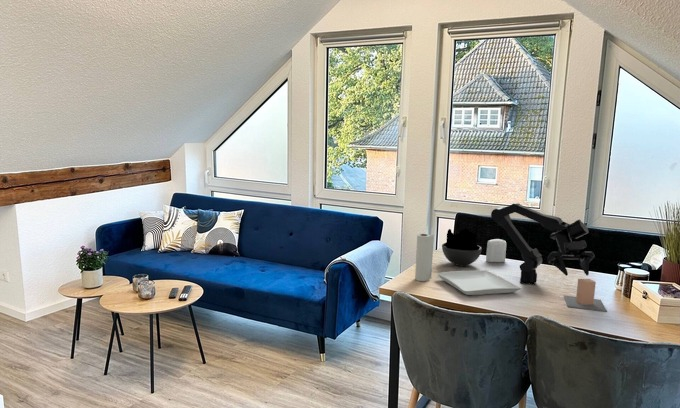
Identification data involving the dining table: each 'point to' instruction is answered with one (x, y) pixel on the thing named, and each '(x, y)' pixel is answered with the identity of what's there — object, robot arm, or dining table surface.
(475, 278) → the square plate
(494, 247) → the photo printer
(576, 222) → the robot arm
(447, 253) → the coal bowl
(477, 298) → the dining table surface
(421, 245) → the paper towel roll
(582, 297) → the terracotta block
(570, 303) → the rubber mat
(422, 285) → the dining table surface
